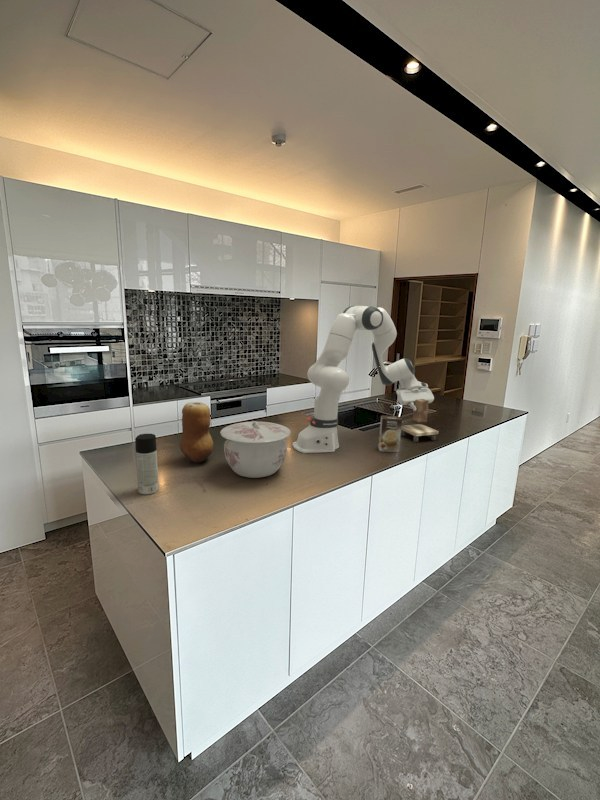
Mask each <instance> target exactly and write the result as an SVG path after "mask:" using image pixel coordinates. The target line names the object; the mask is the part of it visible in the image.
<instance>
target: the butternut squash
mask: <svg viewBox="0 0 600 800" xmlns="http://www.w3.org/2000/svg"><path fill="white" fill-rule="evenodd" d="M181 410H182V411H181V414H182V417H181V426H182V431H181V432H182V434H181V438H180V442H179V448H180V451H181V452H182V453H183V454H182V455H184V457H186V459H188V460H189V461H191V462H193V463H195V464H198V463H201V462H204V461H206V460H207V459H208V458H209V457H210V456H211V455H212V453H213V451H214V441H213V437H212V436H211V434H210V426H211V409H210V407H209V405H207V404H206V403H204V402H200V401H199V402H198V401H195V402H187V403H185V404H184V405H183V408H182V409H181Z"/></svg>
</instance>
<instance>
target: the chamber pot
mask: <svg viewBox="0 0 600 800" xmlns="http://www.w3.org/2000/svg"><path fill="white" fill-rule="evenodd" d="M219 434H220V436H221V437H222V438H224V439H226V440H225V442H224V443H223V452H224V456H225V460H226V462H227V465H228V466H229V467H230V468H231V470H232V471H233V472H234V473H235V474H237V475H238V476H240V477H243V478H250V479H251V478H253V479H255V478H256V479H257V478H258V479H259V478H260V479H261V478H265V477H270V476H272V475H273V474H276V472H277V471H278V470H279V469H280V467H281V466H282V465H283V463H284V462H285V459H286V455H287V448H288V447H287V446H288V444H287V443H288V442H287V440H286V439H287V438H288V437H290V435H291V434H292V431H291V430H290V429H289V428H288V427H287V426H285V425H282V424H279V423H274V422H268V421H257V420H253V421H243V422H237V423H233V424H229V425H227V426H225V427H223V428H222V429H221V430H220V432H219Z"/></svg>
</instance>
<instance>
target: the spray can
mask: <svg viewBox="0 0 600 800" xmlns="http://www.w3.org/2000/svg"><path fill="white" fill-rule="evenodd" d="M134 439H135V458H136V475H137V489H138V493H139V494H141V495H151V494H156V493H157V492H158V491H159V487H160V486H159V485H160V484H159V469H158V467H159V466H158V451H157V450H158V449H157V448H158V447H157V437H156V435H155V433H154V434H153V433H142V434H138V435H137V436H136V437H135V438H134Z"/></svg>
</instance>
